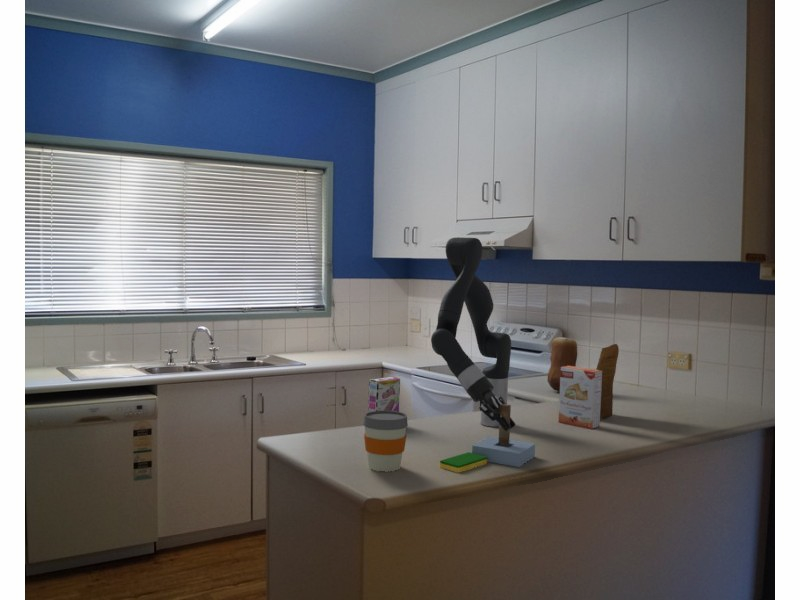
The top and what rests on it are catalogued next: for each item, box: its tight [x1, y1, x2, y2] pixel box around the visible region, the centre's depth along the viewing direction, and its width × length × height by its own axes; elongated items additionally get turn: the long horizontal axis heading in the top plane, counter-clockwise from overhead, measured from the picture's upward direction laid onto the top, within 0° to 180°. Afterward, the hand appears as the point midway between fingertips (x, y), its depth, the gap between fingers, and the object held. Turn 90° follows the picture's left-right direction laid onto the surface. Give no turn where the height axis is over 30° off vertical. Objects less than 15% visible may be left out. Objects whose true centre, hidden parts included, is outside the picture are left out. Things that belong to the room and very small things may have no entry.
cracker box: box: [557, 366, 602, 430], centre depth 265 cm, size 14×6×21 cm, turn 47°
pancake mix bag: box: [595, 343, 620, 421], centre depth 279 cm, size 7×19×28 cm, turn 138°
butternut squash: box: [546, 336, 578, 393], centre depth 328 cm, size 14×13×25 cm
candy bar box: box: [367, 376, 401, 413], centre depth 258 cm, size 11×5×16 cm, turn 135°
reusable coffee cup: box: [363, 411, 409, 473], centre depth 206 cm, size 12×13×15 cm
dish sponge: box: [439, 451, 488, 474], centre depth 211 cm, size 7×14×2 cm, turn 137°
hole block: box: [471, 436, 536, 468], centre depth 220 cm, size 13×15×4 cm
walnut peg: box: [498, 403, 512, 446], centre depth 219 cm, size 3×3×12 cm
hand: (510, 427), depth 218 cm, fingers closed on walnut peg, 3 cm apart
